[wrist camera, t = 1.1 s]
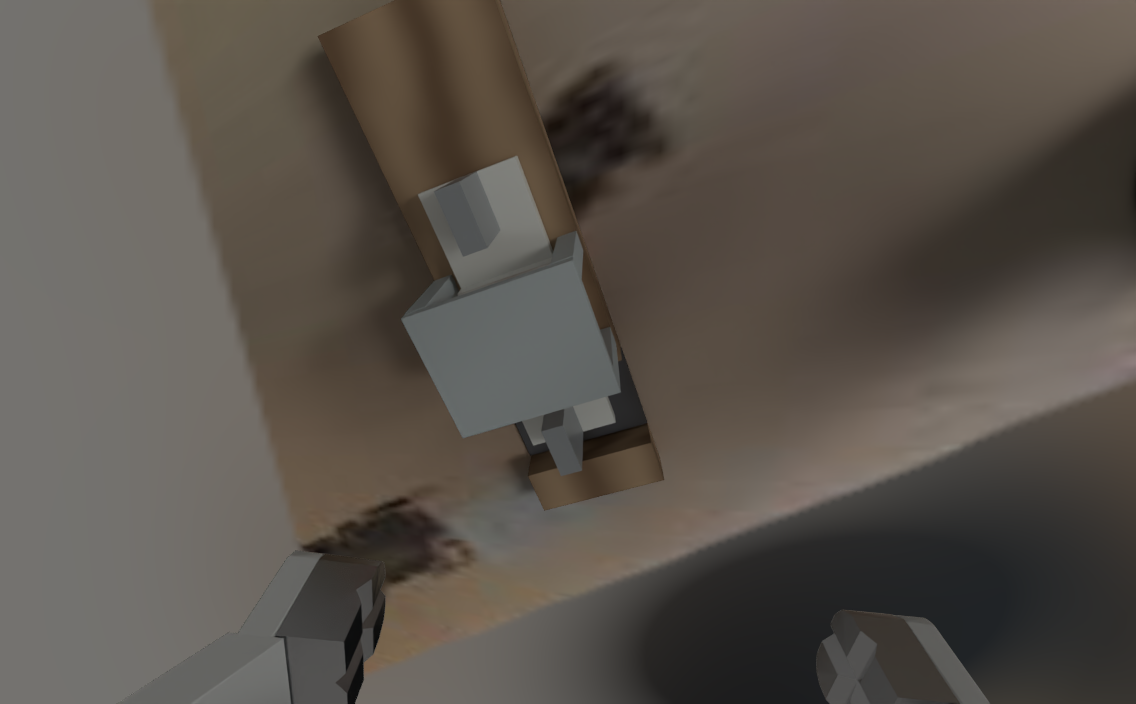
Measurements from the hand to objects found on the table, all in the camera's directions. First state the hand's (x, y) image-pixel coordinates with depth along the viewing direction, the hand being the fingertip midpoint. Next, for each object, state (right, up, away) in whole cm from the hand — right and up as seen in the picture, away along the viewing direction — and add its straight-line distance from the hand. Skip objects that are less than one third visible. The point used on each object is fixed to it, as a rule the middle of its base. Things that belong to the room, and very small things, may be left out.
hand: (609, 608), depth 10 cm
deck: (-4, +10, +32) cm, 34 cm away
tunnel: (-4, +7, +30) cm, 31 cm away
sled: (-4, +7, +30) cm, 31 cm away
